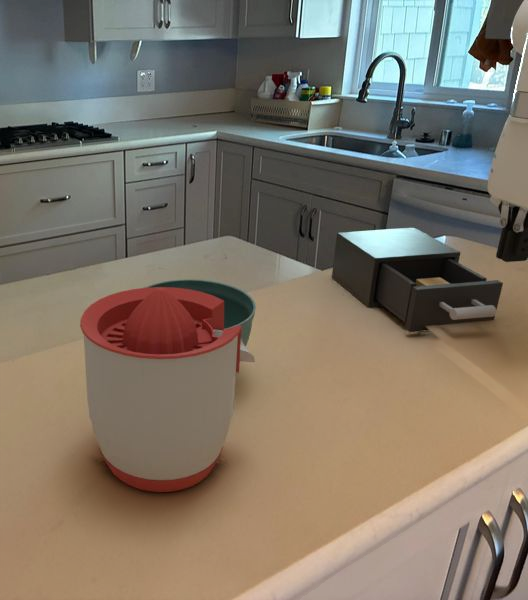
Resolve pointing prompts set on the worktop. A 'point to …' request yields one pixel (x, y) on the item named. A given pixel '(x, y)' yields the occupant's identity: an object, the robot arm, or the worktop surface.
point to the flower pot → (235, 300)
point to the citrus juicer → (161, 383)
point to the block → (430, 281)
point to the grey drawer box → (380, 256)
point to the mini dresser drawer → (435, 293)
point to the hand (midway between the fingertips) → (511, 259)
